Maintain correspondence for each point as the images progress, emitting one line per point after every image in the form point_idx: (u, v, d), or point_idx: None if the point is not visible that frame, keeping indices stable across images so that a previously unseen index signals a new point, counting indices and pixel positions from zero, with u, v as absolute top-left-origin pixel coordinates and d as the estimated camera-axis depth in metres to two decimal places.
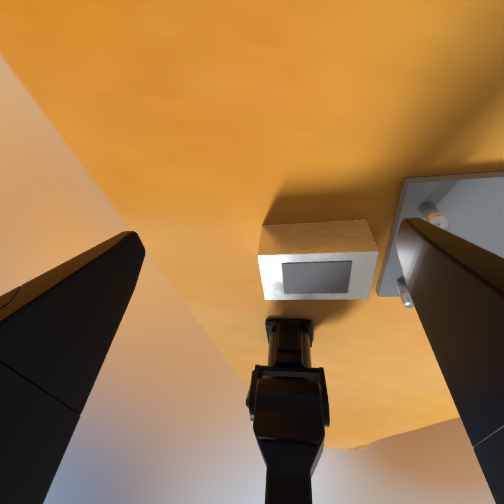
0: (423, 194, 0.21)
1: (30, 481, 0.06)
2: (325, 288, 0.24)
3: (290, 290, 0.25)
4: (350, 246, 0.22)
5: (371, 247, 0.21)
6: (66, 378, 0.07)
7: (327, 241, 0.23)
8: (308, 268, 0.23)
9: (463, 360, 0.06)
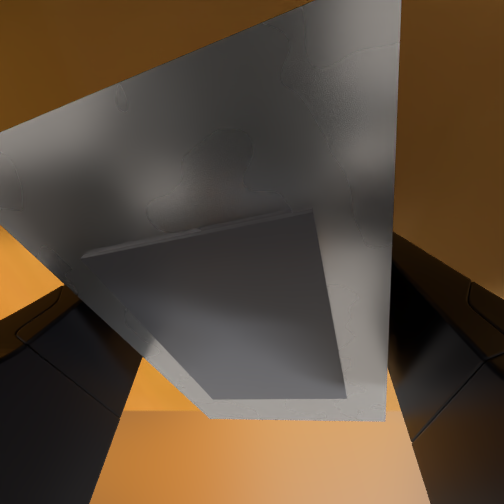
0: None
1: (76, 487, 0.06)
2: (288, 314, 0.05)
3: (324, 388, 0.07)
4: None
5: None
6: (108, 380, 0.07)
7: None
8: (201, 361, 0.06)
9: (401, 358, 0.06)
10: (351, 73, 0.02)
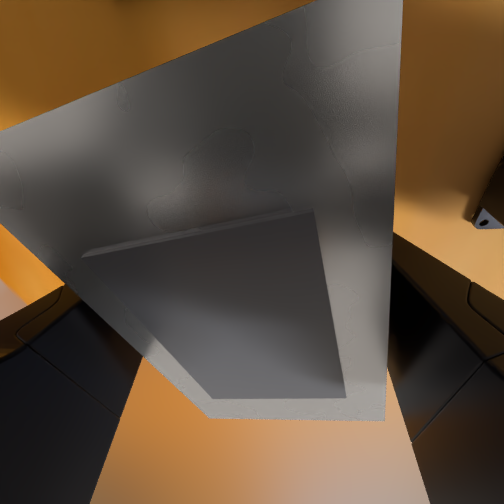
0: None
1: (76, 487, 0.06)
2: (288, 314, 0.05)
3: (323, 388, 0.07)
4: None
5: None
6: (108, 380, 0.07)
7: None
8: (202, 361, 0.06)
9: (401, 358, 0.06)
10: (352, 73, 0.02)
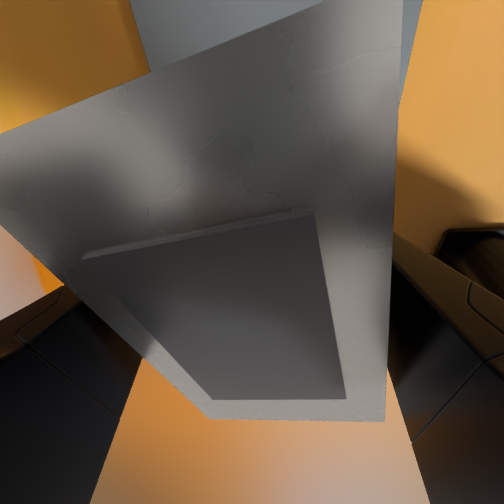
0: None
1: (76, 487, 0.06)
2: (288, 315, 0.05)
3: (324, 389, 0.07)
4: None
5: None
6: (108, 380, 0.07)
7: None
8: (202, 362, 0.06)
9: (401, 358, 0.06)
10: (352, 76, 0.02)
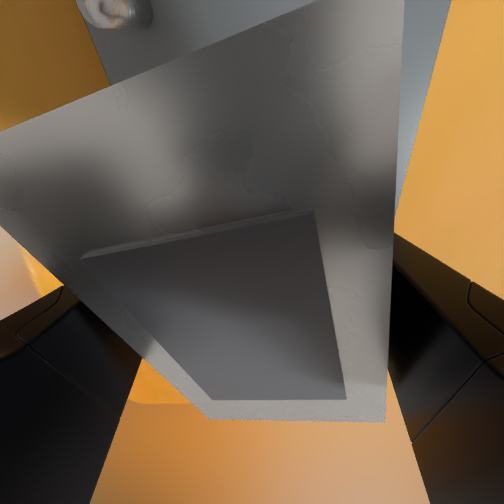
0: None
1: (76, 487, 0.06)
2: (288, 315, 0.05)
3: (324, 389, 0.07)
4: None
5: None
6: (108, 380, 0.07)
7: None
8: (201, 362, 0.06)
9: (401, 358, 0.06)
10: (353, 74, 0.02)
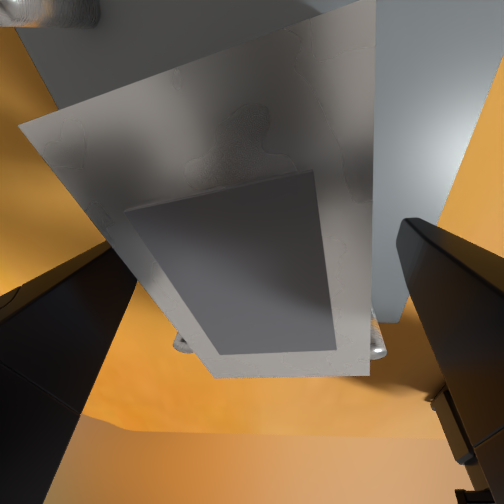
0: None
1: (30, 481, 0.06)
2: (290, 264, 0.06)
3: (317, 339, 0.08)
4: None
5: None
6: (66, 378, 0.07)
7: None
8: (214, 314, 0.08)
9: (463, 360, 0.06)
10: (342, 65, 0.04)
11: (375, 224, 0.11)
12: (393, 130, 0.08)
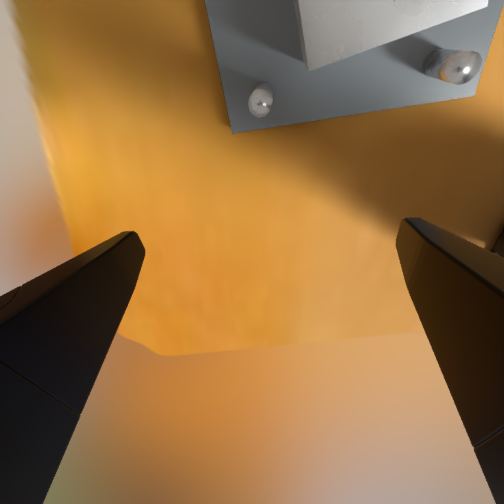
0: (244, 107, 0.16)
1: (30, 481, 0.06)
2: None
3: None
4: None
5: None
6: (66, 378, 0.07)
7: None
8: None
9: (463, 360, 0.06)
10: None
11: None
12: None
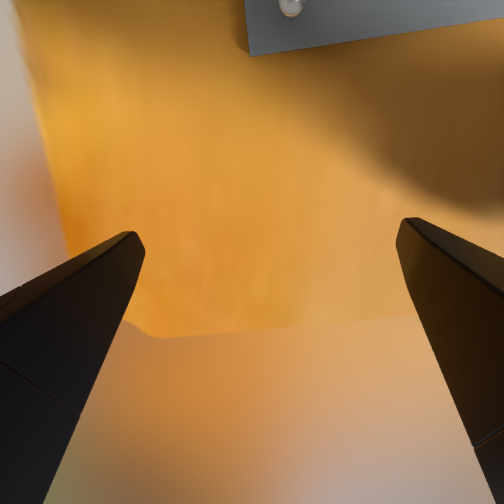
0: (267, 20, 0.13)
1: (30, 481, 0.06)
2: None
3: None
4: None
5: None
6: (66, 378, 0.07)
7: None
8: None
9: (463, 360, 0.06)
10: None
11: None
12: None
